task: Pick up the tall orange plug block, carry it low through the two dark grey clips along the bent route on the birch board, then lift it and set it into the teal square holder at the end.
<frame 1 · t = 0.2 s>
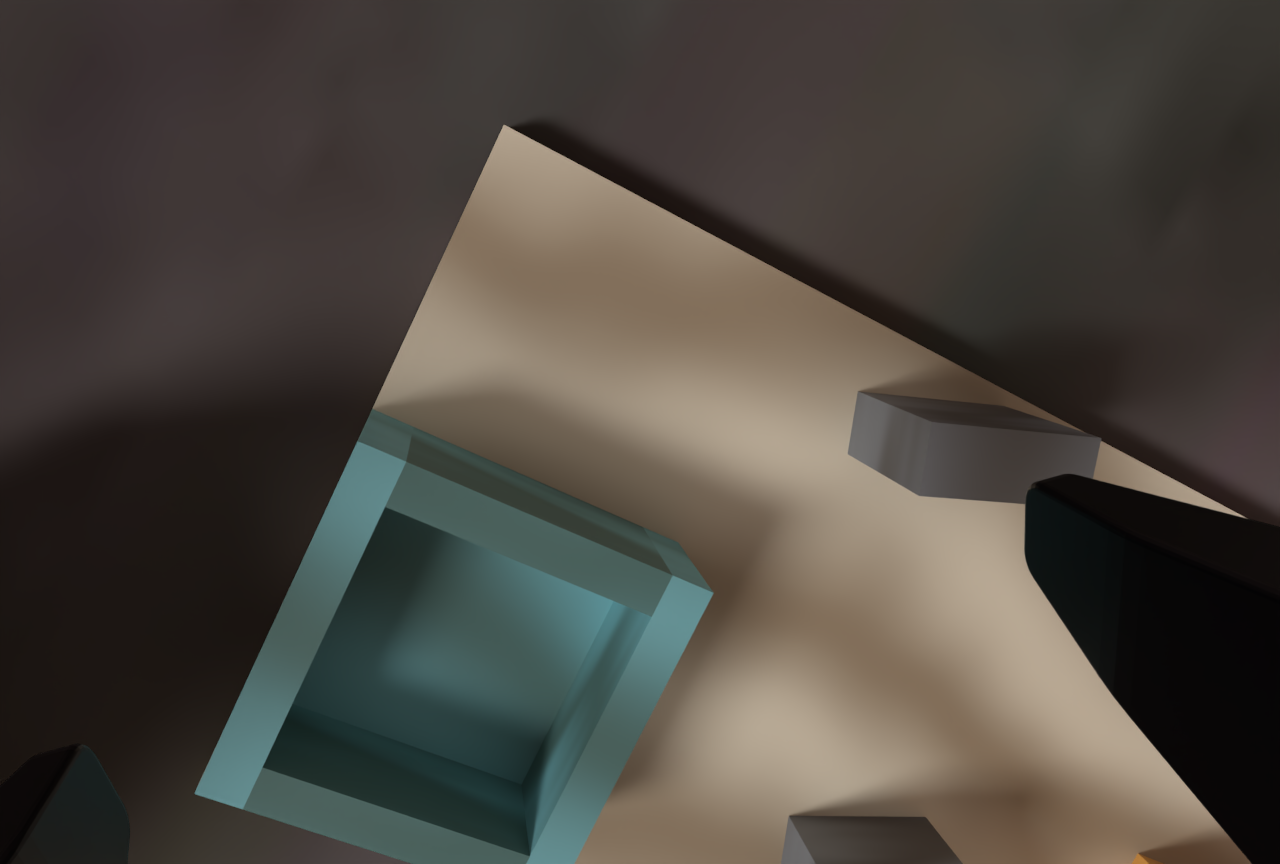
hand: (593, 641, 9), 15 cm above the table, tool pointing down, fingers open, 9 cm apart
route board: (866, 675, 27), on the table
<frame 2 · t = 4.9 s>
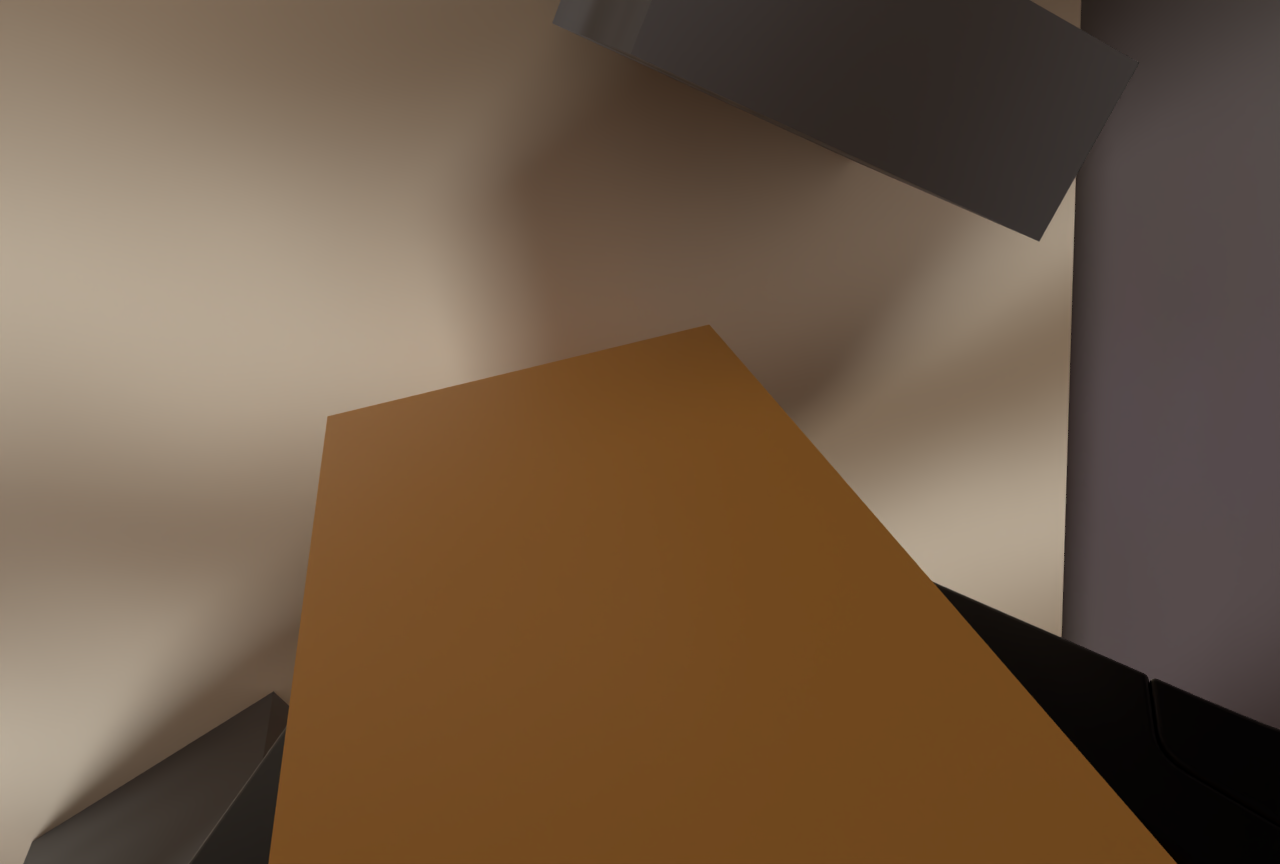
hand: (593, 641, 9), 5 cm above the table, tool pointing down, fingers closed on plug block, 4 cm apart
plug block: (561, 531, 11), point 3 cm above the table, touching gripper
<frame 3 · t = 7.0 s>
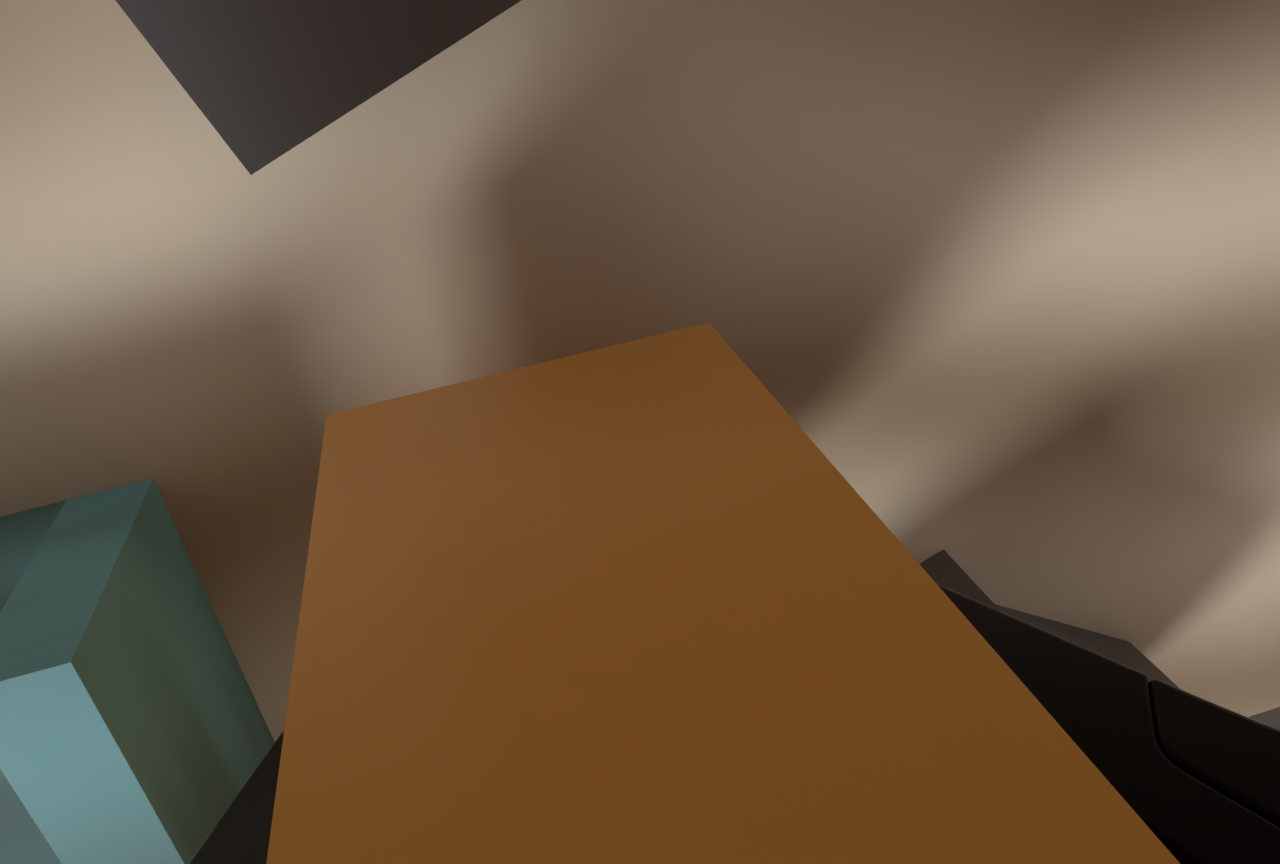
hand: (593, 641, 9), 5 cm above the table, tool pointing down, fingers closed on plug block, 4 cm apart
route board: (706, 410, 14), on the table
plug block: (561, 529, 11), point 3 cm above the table, touching gripper
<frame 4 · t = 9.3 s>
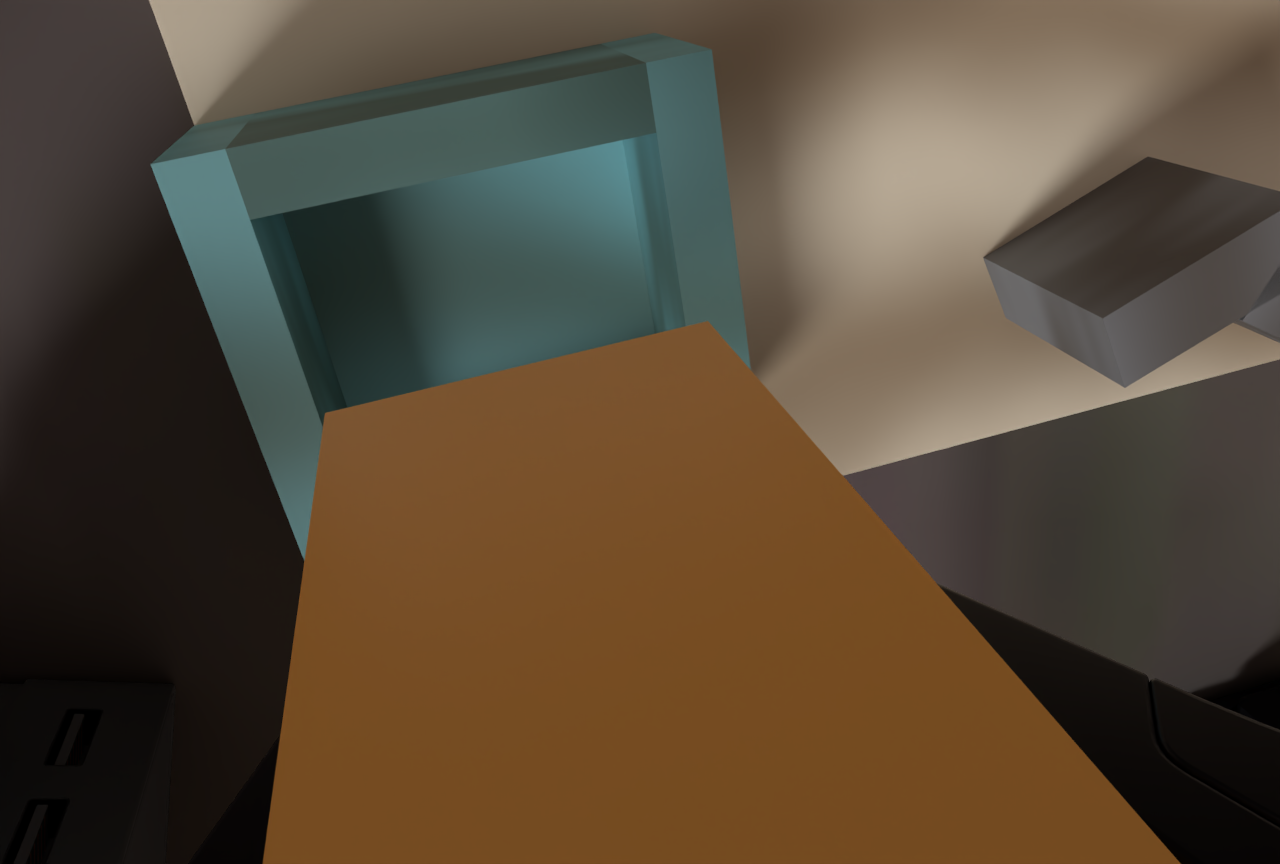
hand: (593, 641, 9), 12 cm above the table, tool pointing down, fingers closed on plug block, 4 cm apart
route board: (988, 41, 20), on the table
plug block: (559, 528, 11), point 10 cm above the table, touching gripper
when the fingers open (5 cm above the table, at t = 11.0 s): plug block drops 2 cm, resting on route board.
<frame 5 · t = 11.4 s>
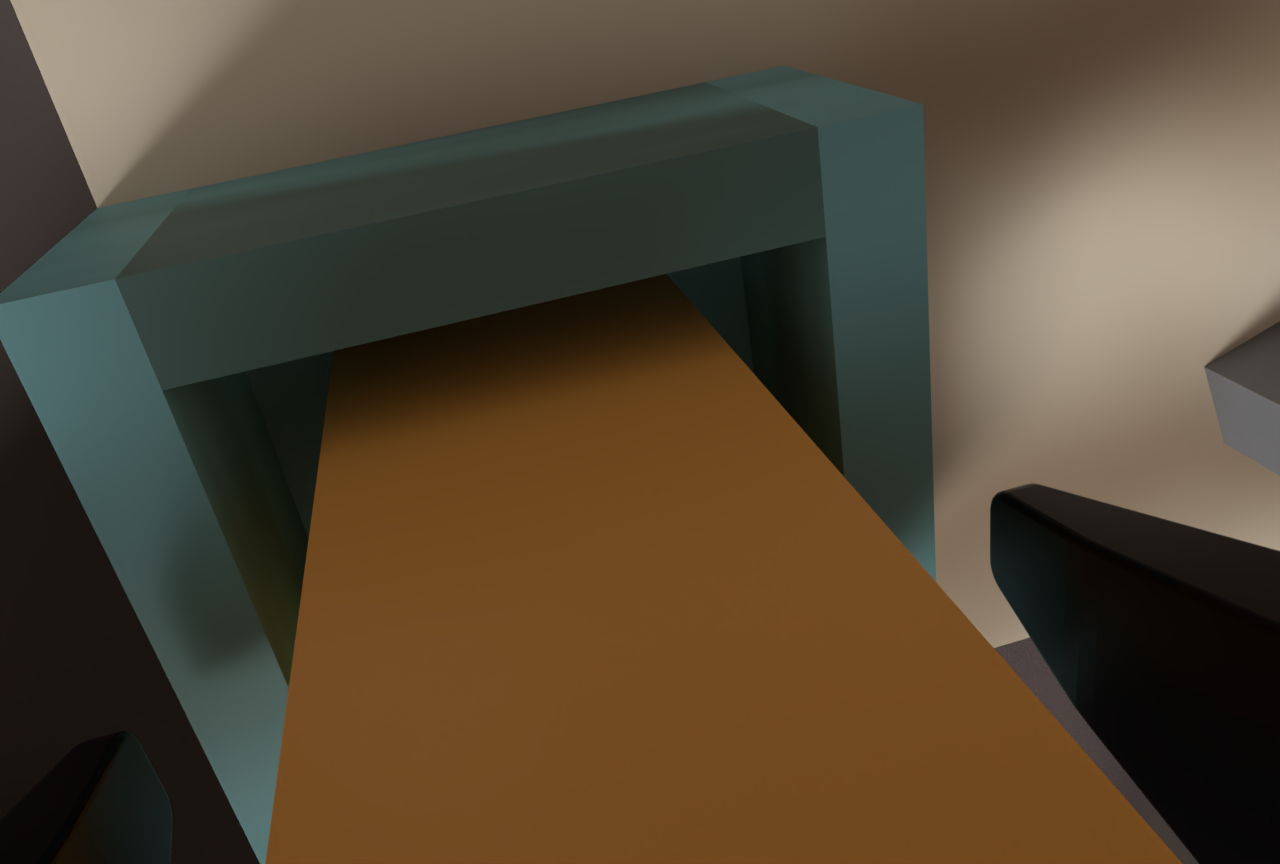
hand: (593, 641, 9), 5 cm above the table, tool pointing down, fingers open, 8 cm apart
route board: (1226, 72, 14), on the table
plug block: (538, 454, 13), point 2 cm above the table, touching route board
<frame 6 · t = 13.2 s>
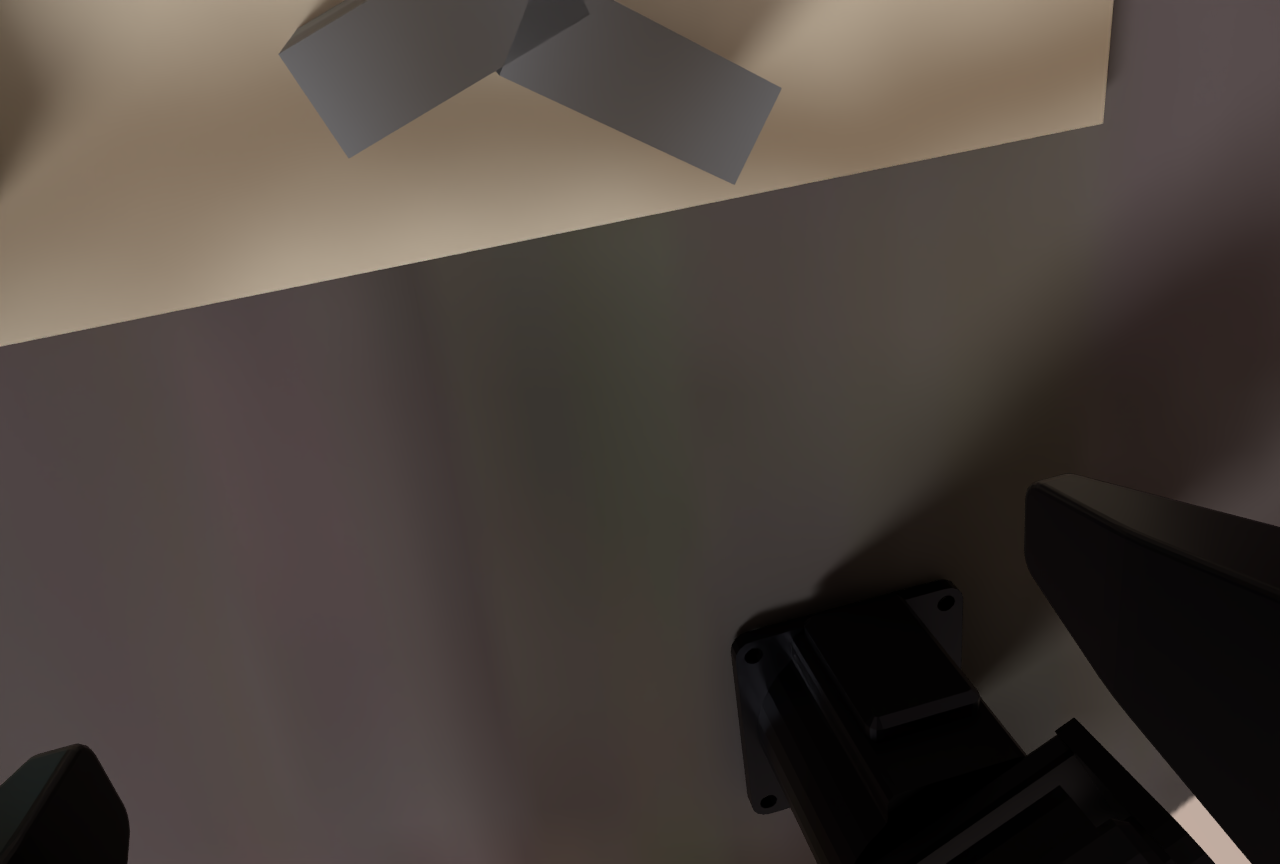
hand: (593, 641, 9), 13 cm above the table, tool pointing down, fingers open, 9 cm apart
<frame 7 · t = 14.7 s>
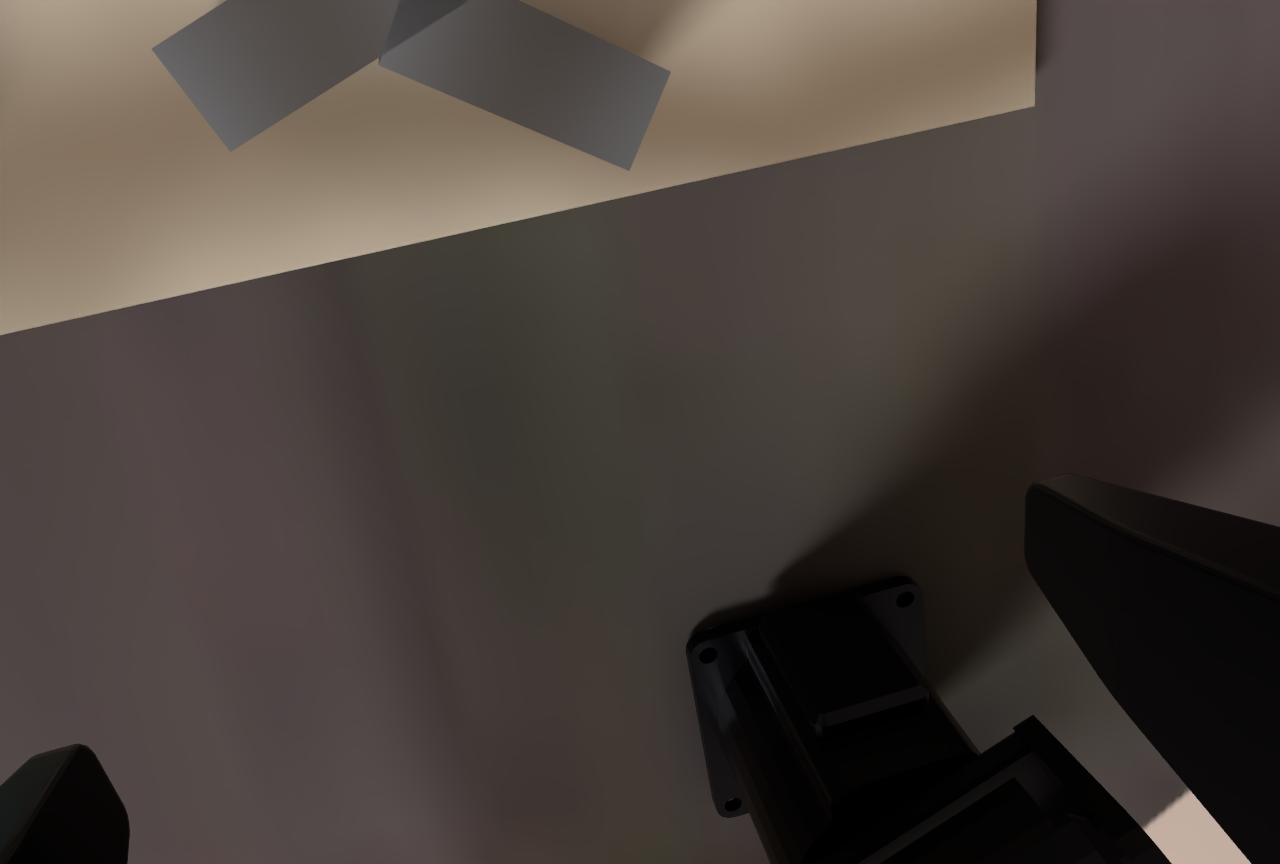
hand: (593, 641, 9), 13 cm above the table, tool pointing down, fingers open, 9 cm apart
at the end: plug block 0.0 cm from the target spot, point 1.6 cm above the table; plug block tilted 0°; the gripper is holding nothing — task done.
